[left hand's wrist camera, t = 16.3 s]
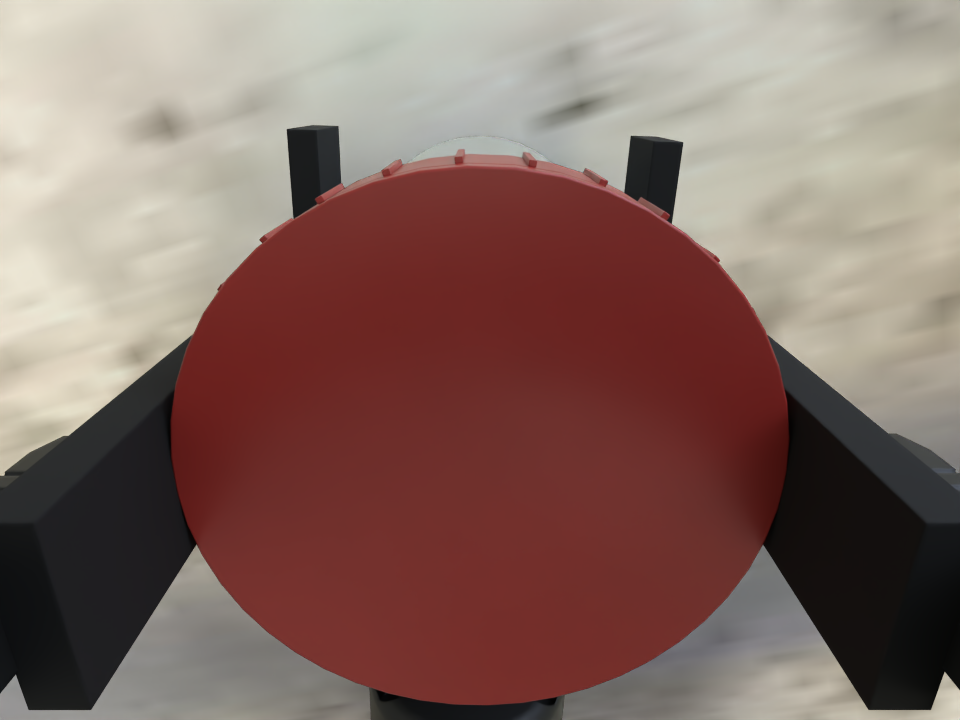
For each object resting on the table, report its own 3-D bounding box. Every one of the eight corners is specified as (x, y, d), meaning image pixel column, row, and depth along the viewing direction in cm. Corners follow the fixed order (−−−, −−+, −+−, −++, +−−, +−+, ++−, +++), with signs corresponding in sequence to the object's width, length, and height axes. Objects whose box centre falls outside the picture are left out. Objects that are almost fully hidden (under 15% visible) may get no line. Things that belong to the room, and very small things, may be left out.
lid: (525, 7, 9) (535, -17, 7) (839, 455, 12) (905, 520, 10) (104, 389, 12) (31, 445, 10) (450, 693, 14) (446, 782, 12)
